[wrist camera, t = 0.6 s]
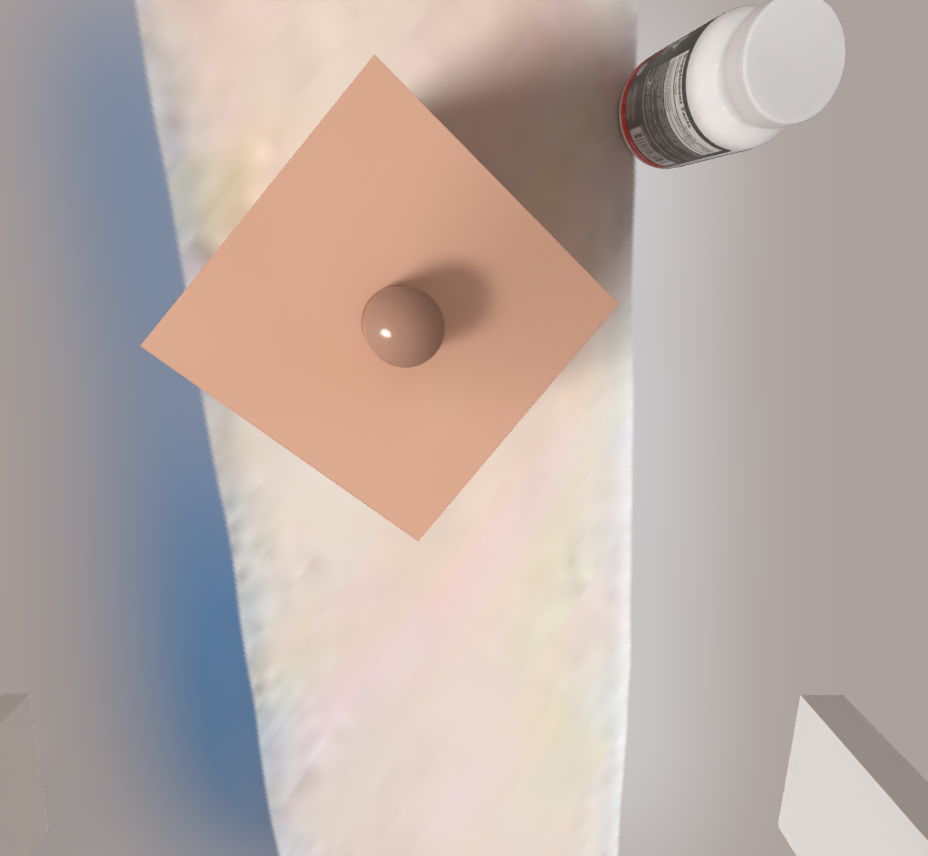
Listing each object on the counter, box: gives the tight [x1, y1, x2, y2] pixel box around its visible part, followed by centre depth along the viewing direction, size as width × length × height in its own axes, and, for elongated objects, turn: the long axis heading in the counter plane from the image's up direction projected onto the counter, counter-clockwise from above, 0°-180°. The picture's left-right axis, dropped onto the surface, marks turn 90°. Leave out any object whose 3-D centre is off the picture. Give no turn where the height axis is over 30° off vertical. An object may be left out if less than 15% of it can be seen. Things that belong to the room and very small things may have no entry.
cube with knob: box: [141, 55, 618, 541], centre depth 26 cm, size 11×11×15 cm
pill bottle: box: [619, 0, 846, 169], centre depth 29 cm, size 6×6×10 cm
